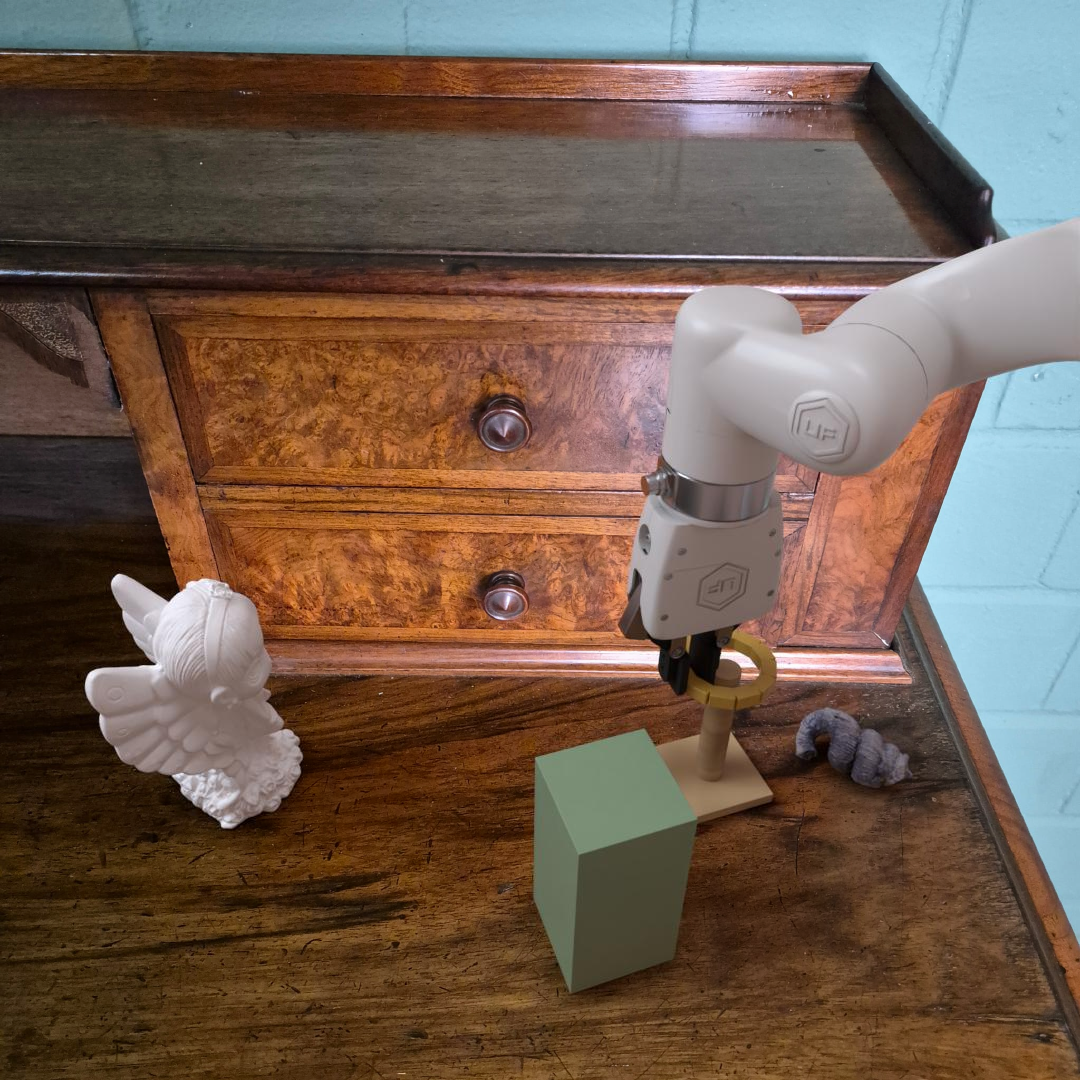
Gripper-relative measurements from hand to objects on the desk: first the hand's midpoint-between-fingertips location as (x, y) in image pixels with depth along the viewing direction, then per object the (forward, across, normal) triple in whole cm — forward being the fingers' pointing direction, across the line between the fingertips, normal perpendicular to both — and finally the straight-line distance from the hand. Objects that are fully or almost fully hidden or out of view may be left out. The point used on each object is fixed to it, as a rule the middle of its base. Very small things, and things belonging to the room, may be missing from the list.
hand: (686, 678), depth 73 cm
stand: (+13, -10, -10) cm, 20 cm away
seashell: (+13, +16, -3) cm, 21 cm away
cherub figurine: (+13, -36, +13) cm, 40 cm away
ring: (0, +3, 0) cm, 3 cm away
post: (+13, +4, 0) cm, 13 cm away
